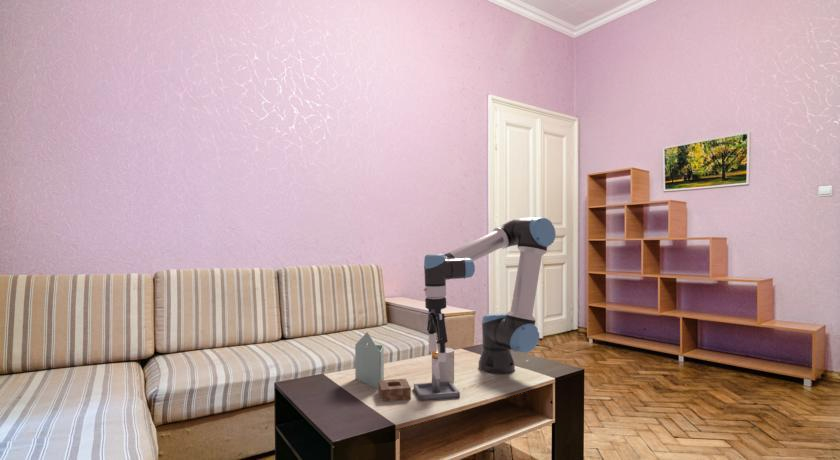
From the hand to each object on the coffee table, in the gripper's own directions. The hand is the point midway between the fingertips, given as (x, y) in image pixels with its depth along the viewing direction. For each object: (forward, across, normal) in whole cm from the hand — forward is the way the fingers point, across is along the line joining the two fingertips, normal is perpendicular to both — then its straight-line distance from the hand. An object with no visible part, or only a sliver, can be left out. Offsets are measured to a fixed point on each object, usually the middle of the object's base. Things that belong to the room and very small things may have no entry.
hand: (437, 356), depth 158 cm
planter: (+13, -17, -21) cm, 30 cm away
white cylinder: (+13, -12, +5) cm, 19 cm away
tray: (+13, 0, -1) cm, 13 cm away
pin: (+12, 0, -1) cm, 12 cm away
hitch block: (+13, -1, -16) cm, 20 cm away
